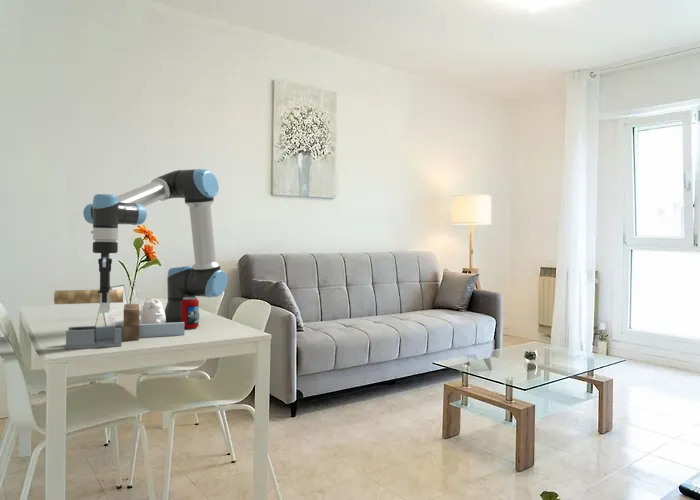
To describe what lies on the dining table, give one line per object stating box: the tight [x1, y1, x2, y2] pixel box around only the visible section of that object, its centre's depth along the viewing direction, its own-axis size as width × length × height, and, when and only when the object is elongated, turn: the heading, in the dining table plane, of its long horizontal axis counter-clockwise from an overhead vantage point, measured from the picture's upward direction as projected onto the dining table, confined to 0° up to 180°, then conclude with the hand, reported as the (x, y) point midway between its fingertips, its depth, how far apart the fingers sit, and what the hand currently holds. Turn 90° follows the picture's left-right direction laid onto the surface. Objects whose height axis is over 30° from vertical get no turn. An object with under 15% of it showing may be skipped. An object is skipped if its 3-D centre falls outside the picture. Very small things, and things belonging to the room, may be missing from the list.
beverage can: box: [180, 296, 200, 330], centre depth 204 cm, size 7×7×12 cm
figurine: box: [139, 297, 167, 324], centre depth 201 cm, size 10×10×12 cm
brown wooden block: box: [122, 303, 140, 342], centre depth 186 cm, size 5×17×11 cm, turn 23°
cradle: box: [65, 324, 123, 351], centre depth 170 cm, size 16×9×6 cm, turn 113°
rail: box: [95, 321, 185, 340], centre depth 185 cm, size 30×2×4 cm, turn 113°
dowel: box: [53, 288, 124, 305], centre depth 169 cm, size 20×4×4 cm, turn 113°
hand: (104, 311), depth 171 cm, fingers closed on dowel, 4 cm apart
